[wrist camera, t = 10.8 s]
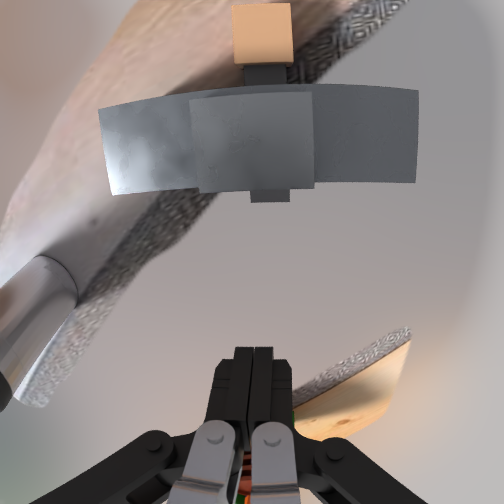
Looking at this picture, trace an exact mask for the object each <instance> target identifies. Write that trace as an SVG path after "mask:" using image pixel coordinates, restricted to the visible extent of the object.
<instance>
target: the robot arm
mask: <svg viewBox="0 0 504 504" xmlns="http://www.w3.org/2000/svg"><path fill="white" fill-rule="evenodd" d="M77 301H78V293H77V289H76V285H75V283H74V281H73V279H72V278H71V276H70V274H69V273H68V272H67V271H66V269H65V268H64V267H63V266H62V265H60V264H59V263H58V262H56V261H55V260H53V259H51V258H49V257H45V256H37V257H34V258H33V259H32V260H31V261H30V262H28V263H27V264H26V265H25V266H24V267H23V268H22V269H21V270H19V271H18V272H17V273H16V274H15V275H14V276H13V277H12V278H11V279H10V280H9V281H7V282H6V283H5V284H4V285H3V286H2V287H1V288H0V412H2V411H3V410H4V409H5V407H6V406H7V404H8V403H9V401H10V399H11V398H12V396H13V394H14V393H15V391H16V390H17V388H18V387H19V385H20V384H21V382H22V381H23V379H24V377H25V376H26V374H27V373H28V371H29V370H30V368H31V367H32V365H33V364H34V362H35V361H36V360H37V358H38V357H39V355H40V354H41V352H42V351H43V349H44V348H45V347H46V345H47V344H48V342H49V341H50V340H51V338H52V337H53V336H54V334H55V333H56V331H57V330H58V329H59V327H60V326H61V325H62V324H63V322H64V321H65V320H66V318H67V317H68V316H69V314H70V313H71V312H72V310H73V309H74V308H75V306H76V304H77ZM251 447H252V488H251V497H250V504H301V502H300V492H299V487H301V488H305V489H309V490H310V491H311V492H312V493H313V494H314V495H315V496H316V497H317V498H318V499H319V500H320V501H321V502H322V503H323V504H428V503H426V502H425V501H423V500H422V499H421V498H419V497H418V496H417V495H415V494H414V493H413V492H411V491H410V490H409V489H407V488H406V487H405V486H404V485H402V484H401V483H400V482H398V481H397V480H396V479H394V478H393V477H392V476H391V475H390V474H388V473H387V472H386V471H385V470H383V469H382V468H381V467H380V466H378V465H377V464H376V463H375V462H373V461H372V460H371V459H370V458H368V457H367V456H366V455H365V454H364V453H362V452H361V451H360V450H359V449H358V448H357V447H355V446H354V445H353V444H352V443H350V442H349V441H348V440H346V439H343V438H339V437H333V438H328V439H325V440H323V441H322V442H321V441H317V440H313V439H309V438H306V437H304V436H302V435H300V434H299V433H298V432H297V431H296V429H295V428H294V426H293V421H292V369H291V367H290V365H289V363H288V362H287V360H286V359H282V360H281V359H280V360H279V359H278V360H277V359H276V360H274V356H273V347H255V351H254V347H236V348H235V353H234V359H222V361H221V362H220V363H219V364H218V366H217V367H216V369H215V373H214V378H213V383H212V389H211V393H210V397H209V403H208V407H207V412H206V417H205V420H204V423H203V424H202V425H201V426H200V427H199V428H198V429H197V430H196V431H194V432H192V433H190V434H186V435H180V436H174V437H170V436H169V435H168V434H167V433H165V432H163V431H159V430H152V431H148V432H146V433H144V434H142V435H141V436H139V437H138V438H136V439H135V440H133V441H132V442H130V443H129V444H127V445H126V446H125V447H123V448H121V449H120V450H118V451H117V452H115V453H114V454H112V455H111V456H109V457H108V458H106V459H104V460H103V461H101V462H100V463H98V464H97V465H95V466H93V467H92V468H90V469H88V470H87V471H85V472H84V473H82V474H80V475H79V476H77V477H76V478H74V479H72V480H70V481H68V482H67V483H65V484H63V485H62V486H60V487H58V488H56V489H55V490H53V491H51V492H49V493H47V494H46V495H44V496H42V497H40V498H38V499H37V500H35V501H33V502H31V503H29V504H162V503H163V502H164V501H166V500H167V499H168V501H167V504H235V501H236V496H237V491H238V487H239V482H240V477H241V472H242V464H243V455H244V451H250V450H251Z"/></svg>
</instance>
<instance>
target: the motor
mask: <svg viewBox="0 0 504 504" xmlns="http://www.w3.org/2000/svg"><path fill="white" fill-rule="evenodd" d="M292 421H293V426H294V411H292ZM251 488H252V447H251V450H250V451H244V455H243V464H242V472H241V477H240V482H239V487H238V491H237V496H236V501H235V504H250V497H251Z"/></svg>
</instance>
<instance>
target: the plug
mask: <svg viewBox="0 0 504 504" xmlns="http://www.w3.org/2000/svg"><path fill="white" fill-rule="evenodd" d="M231 9H232V28H233V47H234V64H235V65H237V66H238V67H240V68H241V69H244V82H245V86H258V85H279V84H287V76H286V67H291V65H292V64H293V62H294V61H293V41H292V24H291V9H290V3H263V4H245V5H232V6H231ZM289 193H290V189H279V190H253V191H250V195H251V203H253V202H254V203H255V202H290V199H289V198H290V194H289Z"/></svg>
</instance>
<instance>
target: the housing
mask: <svg viewBox="0 0 504 504" xmlns="http://www.w3.org/2000/svg"><path fill="white" fill-rule="evenodd" d="M418 99H419V98H418V90H410V89H401V88H391V87H380V86H365V85H344V84H279V85H258V86H243V87H231V88H221V89H211V90H203V91H195V92H187V93H180V94H174V95H168V96H161V97H156V98H150V99H145V100H139V101H134V102H130V103H125V104H120V105H116V106H111V107H107V108H103V109H99V110H98V113H99V120H100V128H101V134H102V141H103V147H104V154H105V159H106V165H107V171H108V176H109V181H110V186H111V191H112V195H121V194H130V193H140V192H150V191H161V190H172V189H185V188H198V187H199V193H215V192H233V191H253V190H279V189H313V188H314V182H394V183H395V182H396V183H415V180H416V166H417V148H418V113H419V112H418V111H419V106H418V105H419V101H418Z"/></svg>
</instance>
